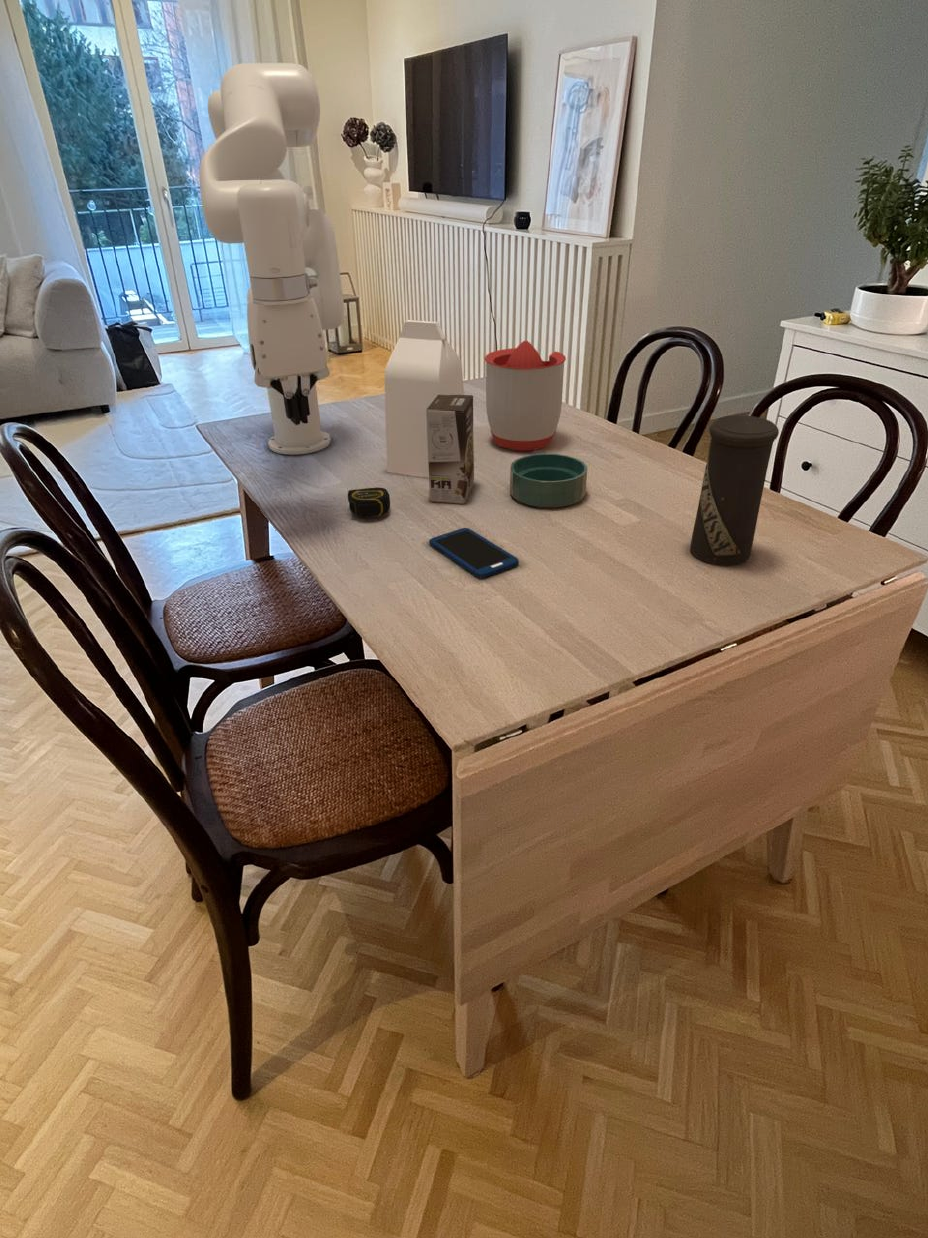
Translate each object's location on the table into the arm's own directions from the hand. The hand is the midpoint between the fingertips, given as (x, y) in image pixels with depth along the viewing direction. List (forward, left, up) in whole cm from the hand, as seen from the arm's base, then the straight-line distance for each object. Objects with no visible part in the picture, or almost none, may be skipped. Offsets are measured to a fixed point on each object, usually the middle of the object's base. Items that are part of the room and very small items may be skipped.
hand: (299, 421), depth 109 cm
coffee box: (0, +26, -17) cm, 31 cm away
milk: (-14, +28, -17) cm, 35 cm away
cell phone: (+22, +18, -17) cm, 33 cm away
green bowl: (+9, +40, -17) cm, 44 cm away
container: (+40, +50, -17) cm, 66 cm away
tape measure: (0, +10, -17) cm, 20 cm away
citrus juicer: (-16, +51, -17) cm, 56 cm away
